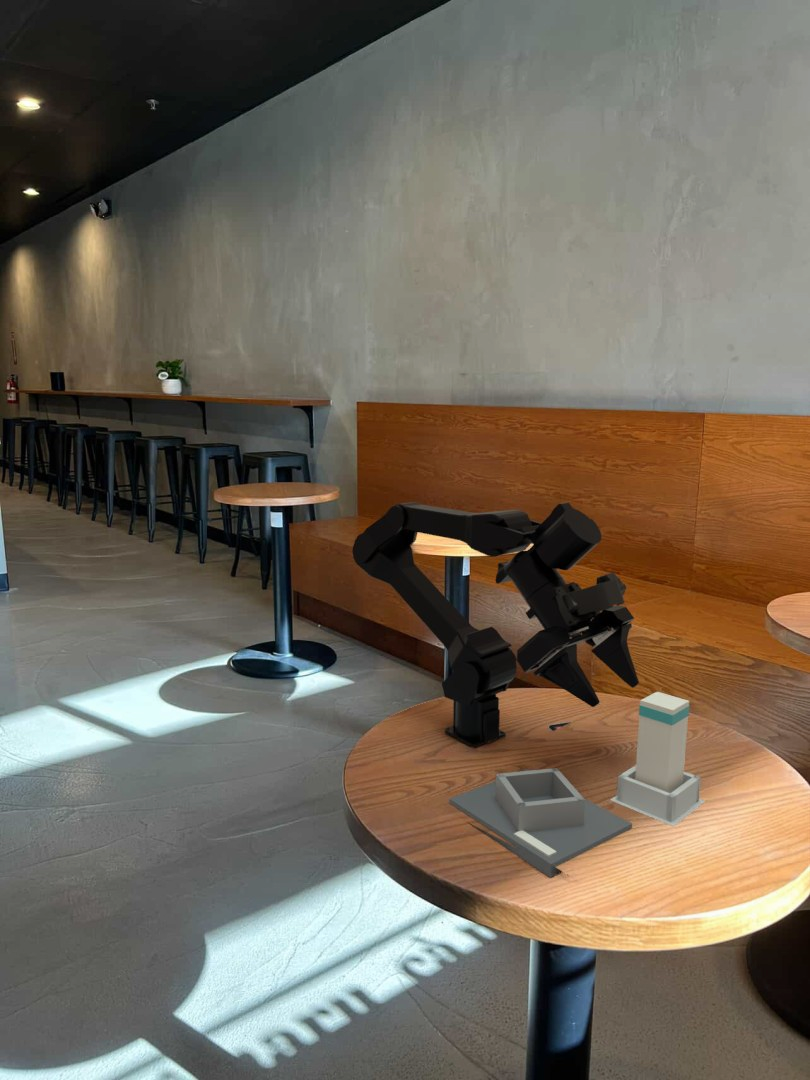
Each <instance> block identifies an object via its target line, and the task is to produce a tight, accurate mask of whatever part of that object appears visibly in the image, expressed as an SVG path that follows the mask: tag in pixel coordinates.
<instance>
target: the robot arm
mask: <svg viewBox="0 0 810 1080" xmlns="http://www.w3.org/2000/svg"><path fill="white" fill-rule="evenodd" d="M418 534H425V535H430V536H434V537H435V536H436V537H441V538H446V539H450V540H451V539H452V540H456V541H461V542H463V543H465V544H466V545H467V546H469V548H470V549H471V550H474V551H476V552H478V553H481V554H483V555H486V556H487V557H492V558H493V557H494V558H495V557H500V556H505V555H509V554H514V553H516V554H514V555H513V557H512V558H511V559H510V560H509V561H508V560H507V561H502V562H499V563H498V564H497V572H496V574H495V580H494V581H495V584H498V585H499V584H503V583H508V582H512V583H513V585H514V586H515V588H516V590H517V591H518V593H520V595H521V597H522V598H523V600H524V601H525V603H526V605H527V606H528V607H529V609H528V610H527V611H526V612H525V615H526V617H527V618H528V619H529V620H532V619H535V618H536V619H537V621H538V622H539V623H540V625H541V627H542V629H541V630H539V631H537V633H535V634H534V635H533V636H532V637H531V638H529V640H527V641H526V642H525V643H524V644H523V645H522V646H520V647H519V648H518V649H517V650H516V655H515V653H514V651H513V649H511V647H512V646H513V645H512V644H511V643H510V642H508V641H506V640H505V639H504V638H503V637H502V636H501V635H500V633H499V632H498V630H497V629H495V628H494V627H493V626H490V627H485V628H483V629H478V628H475V627H474V626H472V624H471V623H470V622H469V621H468V620H467V619H466V618H465V617H464V615H462V614H461V612H460V611H459V610H458V609H457V608H456V607H455V606H454V605H453V604H452V603H451V601H450V600H448V599H447V597H446V596H445V595H444V594H443V593H442V592H441V591H440V590H439V588H437V587H436V586H435V584H433V582H432V581H431V580H430V579H429V578H428V577H427V576H426V575H425V574H424V572H422V571H421V569H420V568H419V566H417V565H416V563H415V558H414V551H413V549H412V545H413V544H414V543H415V542H416V541H417V536H418ZM601 541H602V532H601V530H600V528H599V526H598V524H597V522H595V520H594V519H592V518H590V517H589V516H587V515H586V514H585V513H584V512H582V511H581V510H578V509H576V508H574V507H573V506H572V505H571V503H570V502H562V503H561V502H560V503H558V504H557V505H556V506H555V507H554V508H553V509H552V511H551V512H550V514H549V515H548V516H546V518H545V519H544V520H543V521H542V522H539V521H536V520H533V519H531V518H530V517H529V515H528V513H527V512H525V511H523V510H520V509H510V510H509V509H508V510H496V511H485V512H470V511H467V510H466V511H464V510H461V509H460V510H459V509H452V508H446V507H440V506H433V505H426V504H421V503H419V502H416V501H413V502H411V501H410V502H403V503H396V504H394V505H392V506H391V507H390V508H389V509H388V510H387V511H386V513H385V514H384V515H383V516H382V517H380V518H379V519H377V520H376V521H375V522H373V523H371V524H370V525H369V526H368V527H367V528H365V530H364V531H363V532H362V533H360V534H358V535H357V536H356V538H355V539H354V543H353V546H352V558H353V560H354V562H355V564H356V566H358V567H359V568H360V569H361V570H362V571H364V572H365V574H367V575H368V576H370V577H371V578H373V579H376V580H378V581H381V582H382V583H386V584H388V585H389V586H391V587H392V588H393V590H394V591H395V592H396V593H397V594H398V595H399V596H400V598H401V599H402V600H403V601H404V602H405V603H406V604H407V606H408V607H409V608H410V609H411V610H412V612H413V613H414V614H416V615H417V617H418V618H419V619H420V621H422V623H424V625H426V627H427V629H429V630H430V631H431V633H432V634H433V635H434V636H435V637H436V638H437V640H438V641H440V642H441V644H442V645H443V646H444V648H445V649H446V650H447V654H448V659H449V661H448V662H449V666H450V667H449V668H450V669H451V671H452V673H451V674H450V675H449V676H447V678H445V679H444V680H443V681H442V682H441V687H442V691H443V694H444V698H446V699H449V700H452V701H453V708H452V709H453V711H452V714H453V715H452V725H451V726H447V727H445V728H444V733H446V734H447V735H449V736H451V737H453V738H455V739H456V740H459V741H461V742H462V743H464V744H466V745H468V746H470V747H474V748H475V747H478V746H481V745H484V744H487V743H490V742H493V741H496V740H499V739H502V738H505V737H506V736H507V735H506V732H505V731H503V730H501V729H500V719H501V718H500V715H501V713H500V712H501V711H500V709H499V706H500V704H499V703H500V698H499V696H498V697H497V694H500V693H503V692H506V691H507V690H508V688H509V686H510V682H512V681H513V680H514V679H515V677H516V674H517V669H518V668H517V663H518V665H519V666H520V668H521V669H522V671H523V673H524V674H527V673H530V672H533V671H534V672H533V673H532V674H533V675H534V676H535V677H538V676H539V677H541V678H543V679H545V680H547V681H549V682H551V683H552V684H554V685H555V686H557V687H559V688H561V689H563V690H564V691H566V692H568V693H569V694H571V695H573V696H574V697H576V698H577V699H579V700H580V701H582V702H583V703H585V704H587V705H589V707H592V708H594V707H596V706H598V705H599V704H600V699H599V697H598V695H597V694H596V692H595V689H594V688H593V686H592V684H591V683H590V681H589V679H588V677H587V675H586V674H585V672H584V670H583V669H582V666H580V664H579V661H578V645H577V644H580V643H582V642H585V643H586V644H587V645H589V646H590V647H594V648H593V649H591V650H590V651H591V653H592V654H593V655H594V656H595V657H597V658H598V660H600V661H601V663H604V664H605V666H607V667H608V668H609V669H610V670H611V671H612V672H613V673H615V675H616V676H618V677H619V678H620V679H621V680H622V681H623V682H624V683H626V685H628V686H629V687H630V688H636V687H637V686H638V685H639V684H640V681H639V678H638V675H637V672H636V669H635V665H634V663H633V659H632V657H631V653H630V649H629V645H628V638H629V637H628V636H629V633H630V630H631V629H632V622H633V621H634V620H635V617H634V616H633V615H632V613H631V612H630V610H629V609H628V607H627V606H624V604H625V599H624V595H625V592H626V590H627V585H626V584H625V583H623V581H622V580H621V578H620V577H618V576H617V575H616V574H615V572H611V573H606V574H604V575H600V576H597V577H596V584H594V585H592V586H588V587H585V588H582V587H581V586H580V585H579V584H578V583H577V582H574V581H572V582H569V583H567V582H566V580H565V578H564V577H563V575H562V574H561V573H560V571H559V570H562V571H569V570H571V569H572V568H573V567H574V566H575V565H577V564H578V563H579V562H580V561H581V560H582V559H583V558H584V557H585V556H586V555H588V553H590V552H591V551H592V550H593V549H594V548H595V547H596V546H597V545H598V544H599V543H601ZM532 544H533V545H532ZM531 545H532V546H531ZM530 546H531V547H530ZM529 547H530V548H529ZM527 549H528V550H527ZM622 605H623V606H622Z"/></svg>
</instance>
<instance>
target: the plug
mask: <svg viewBox="0 0 810 1080" xmlns="http://www.w3.org/2000/svg"><path fill="white" fill-rule="evenodd" d="M639 701H640V702H639V707H638V729H637V731H638V732H637V744H636V745H637V746H636V758H635V759H636V760H635V761H636V763H635V765H636V774H635V780H637V781H639V782H642V783H645V784H647V785H650V786H652V787H655V788H658V789H660V790H663V791H665V792H668V793H672V792H673V791H674V790H676V789H677V788H678V787H680V786H681V785H682V784H683V775H684V772H685V762H686V761H685V759H686V749H687V747H686V746H687V735H688V723H689V721H688V720H689V716H690V700H688V699H683V698H681V697H678V696H673V695H670V694H666V693H664V692H660V691H655V692H654V693H652V694H650V695H648V696H646V697H644V698H642V699H641V700H639Z"/></svg>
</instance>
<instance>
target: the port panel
mask: <svg viewBox="0 0 810 1080" xmlns="http://www.w3.org/2000/svg"><path fill="white" fill-rule="evenodd" d="M448 803H449V804H450V805H452V806H453V807H455V808H456V809H458V810H460V811H461V812H462V813H464V814H465V815H467V816H469V817H470V818H471V819H473V820H475V821H476V822H477V823H479V824H481V825H482V826H484V827H485V828H487V829H488V830H490V831H491V832H493V833H495V834H496V835H498V836H499V837H501V838H502V839H501V838H499V837H497V836H495V835H493V834H491V833H489V832H487V831H485V830H483V829H482V828H480V827H477V826H476V825H473V824H472V823H470V822H468V821H466V823H467V824H469V825H470V826H471V827H474V828H475V829H476V830H478V831H479V832H480V833H482V834H483V835H485V836H487V837H489V838H490V839H492V840H493V841H494V842H496V843H497V844H499V845H501V846H502V847H504V848H505V849H507V850H508V851H509V852H510V853H513V854H514V855H516V856H517V857H518V858H520V859H522V860H524V861H525V862H526V863H528V864H529V865H530V866H532V867H534V868H535V869H537V870H538V871H539V872H541V873H543V874H544V875H545V876H547V877H548V878H552V877H554V876H557V875H559V874H560V873H563V870H562V869H559V868H557V866H560V865H562V864H565V863H566V862H567V861H570V860H572V859H574V858H575V857H578V856H579V855H581V854H584V853H586V852H587V851H590V850H592V849H594V848H596V847H598V846H600V845H601V844H604V843H606V842H607V841H609V840H612V839H613V838H615V837H618V836H619V835H621V834H624V833H625V832H627V831H629V830H631V829H633V823H631V822H629V821H628V820H626V819H624V818H622V817H620V816H618V815H616V813H613V812H611V811H609V810H607V809H605V808H604V807H602V806H599V805H597V804H595V803H594V802H592V801H590V800H589V799H586V798H585V797H583V795H581V793H580V792H579V791H578V790H577V788H575V787H574V785H573V784H571V782H570V781H569V780H568V779H567V778H566V776H564V774H563V773H562V772H561V771H560V770H559V769H558V767H553V768H545V769H544V768H543V769H533V770H532V769H529V768H525V769H523V770H521V771H512V772H504V773H502V772H501V773H496V775H495V781H491V782H489V783H487V784H484V785H481V786H479V787H477V788H473V789H471V790H469V791H466V792H463V793H461V794H457V795H455V796H453V797H450V798H449V800H448ZM503 839H504V840H503Z"/></svg>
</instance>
